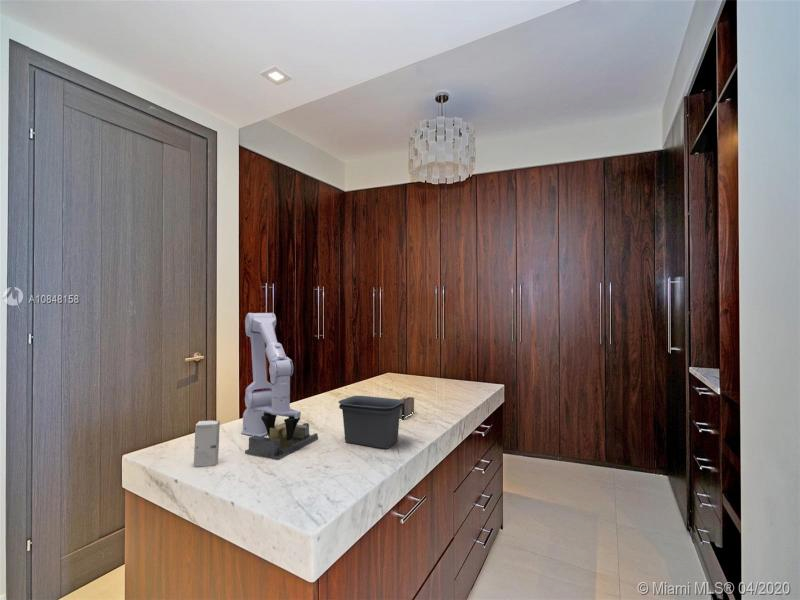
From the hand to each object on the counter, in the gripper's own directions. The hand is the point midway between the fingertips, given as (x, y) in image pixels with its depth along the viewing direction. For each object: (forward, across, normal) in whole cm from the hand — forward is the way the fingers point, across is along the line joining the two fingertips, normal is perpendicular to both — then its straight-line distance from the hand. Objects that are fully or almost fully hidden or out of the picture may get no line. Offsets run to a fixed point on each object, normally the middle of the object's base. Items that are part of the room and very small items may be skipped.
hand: (280, 437), depth 132 cm
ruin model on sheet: (+4, -24, -52) cm, 57 cm away
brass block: (+2, 0, 0) cm, 2 cm away
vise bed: (+3, 0, -2) cm, 4 cm away
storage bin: (+3, -25, -18) cm, 31 cm away
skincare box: (+3, +11, +19) cm, 23 cm away
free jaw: (+2, 0, -10) cm, 11 cm away
